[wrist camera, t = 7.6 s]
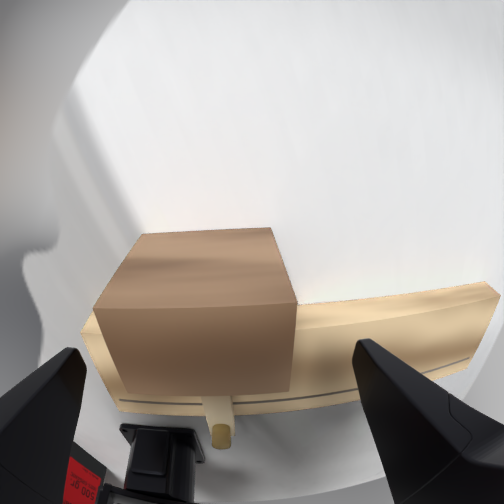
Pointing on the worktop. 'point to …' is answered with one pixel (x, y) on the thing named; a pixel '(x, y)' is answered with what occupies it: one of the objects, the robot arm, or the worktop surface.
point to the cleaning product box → (82, 477)
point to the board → (339, 348)
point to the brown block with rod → (202, 319)
